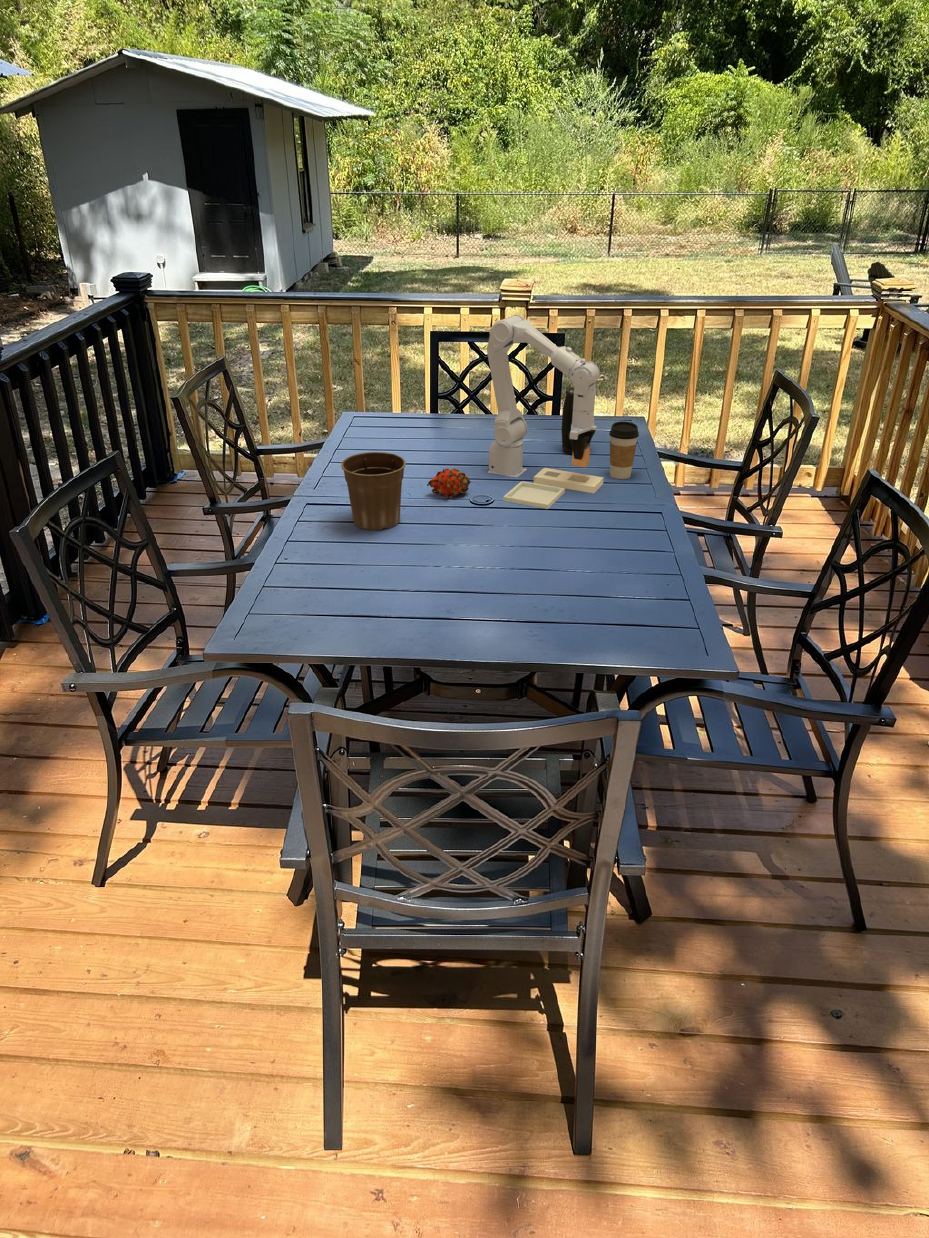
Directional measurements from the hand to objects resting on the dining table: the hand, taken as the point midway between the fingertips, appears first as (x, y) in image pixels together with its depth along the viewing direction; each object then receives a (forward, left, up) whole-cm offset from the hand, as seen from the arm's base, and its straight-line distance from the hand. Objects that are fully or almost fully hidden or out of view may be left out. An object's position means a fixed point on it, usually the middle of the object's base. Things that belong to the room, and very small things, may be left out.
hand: (580, 457), depth 252 cm
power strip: (-3, 0, -9) cm, 9 cm away
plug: (0, 0, -2) cm, 2 cm away
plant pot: (-39, -46, -9) cm, 61 cm away
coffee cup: (+8, +14, -9) cm, 19 cm away
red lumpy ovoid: (-30, -22, -9) cm, 38 cm away
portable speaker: (-11, +28, -9) cm, 31 cm away
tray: (-8, -13, -9) cm, 18 cm away
